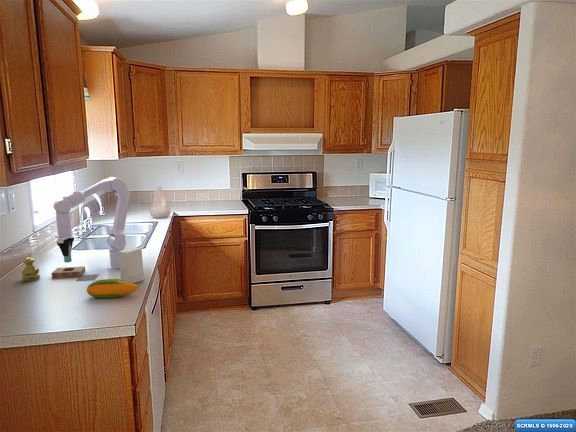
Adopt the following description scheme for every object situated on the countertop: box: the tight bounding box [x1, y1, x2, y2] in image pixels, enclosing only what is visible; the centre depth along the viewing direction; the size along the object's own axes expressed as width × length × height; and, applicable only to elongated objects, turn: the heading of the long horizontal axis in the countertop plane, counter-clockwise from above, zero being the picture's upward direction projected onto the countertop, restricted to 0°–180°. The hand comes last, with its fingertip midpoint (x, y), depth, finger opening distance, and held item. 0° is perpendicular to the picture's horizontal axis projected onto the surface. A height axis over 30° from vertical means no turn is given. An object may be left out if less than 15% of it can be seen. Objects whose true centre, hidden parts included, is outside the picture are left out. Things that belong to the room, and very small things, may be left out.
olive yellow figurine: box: [20, 257, 41, 283], centre depth 192 cm, size 7×7×10 cm
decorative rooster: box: [149, 185, 171, 219], centre depth 335 cm, size 25×16×25 cm, turn 16°
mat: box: [75, 273, 100, 282], centre depth 194 cm, size 8×9×1 cm
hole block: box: [51, 266, 86, 279], centre depth 198 cm, size 12×8×3 cm, turn 100°
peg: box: [63, 246, 72, 263], centre depth 196 cm, size 3×3×9 cm
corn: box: [86, 278, 140, 299], centre depth 172 cm, size 7×8×20 cm
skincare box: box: [118, 246, 145, 284], centre depth 188 cm, size 8×6×15 cm
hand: (67, 254), depth 196 cm, fingers closed on peg, 3 cm apart
